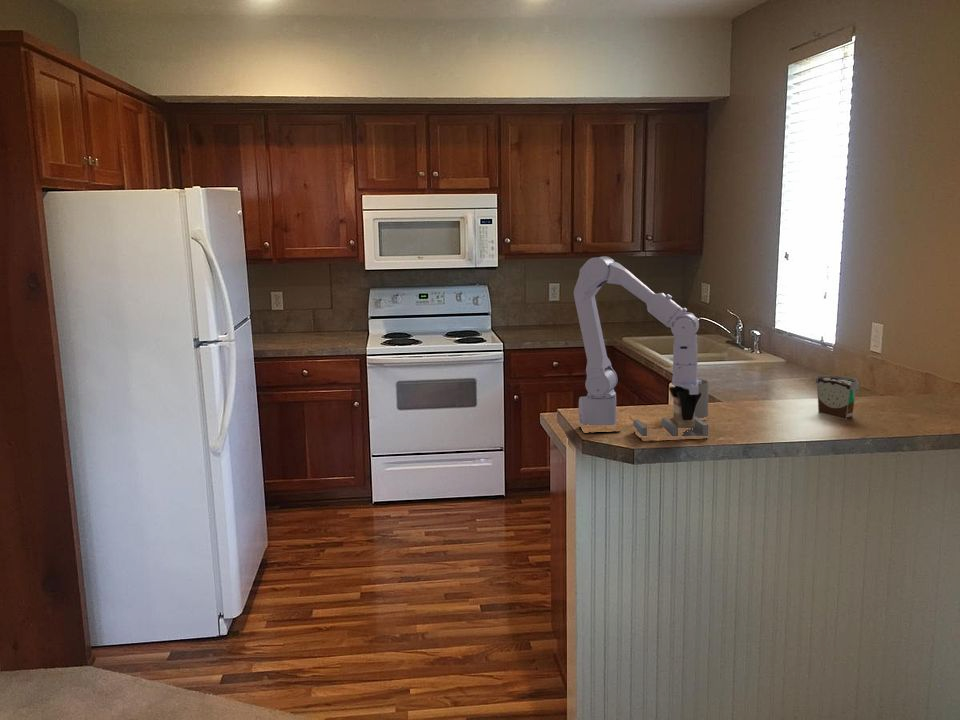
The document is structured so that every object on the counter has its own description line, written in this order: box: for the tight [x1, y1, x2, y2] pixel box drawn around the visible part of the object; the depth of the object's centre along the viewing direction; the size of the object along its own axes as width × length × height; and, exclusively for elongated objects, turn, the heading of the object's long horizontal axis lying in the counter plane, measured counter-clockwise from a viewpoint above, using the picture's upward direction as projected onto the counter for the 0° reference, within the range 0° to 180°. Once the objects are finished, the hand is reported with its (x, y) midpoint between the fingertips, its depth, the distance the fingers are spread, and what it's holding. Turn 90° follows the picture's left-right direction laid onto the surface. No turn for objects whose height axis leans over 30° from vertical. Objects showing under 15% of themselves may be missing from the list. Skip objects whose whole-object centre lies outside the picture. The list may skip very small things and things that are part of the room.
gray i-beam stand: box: [632, 416, 709, 437], centre depth 191 cm, size 16×9×4 cm, turn 93°
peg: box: [672, 396, 695, 428], centre depth 190 cm, size 4×4×7 cm
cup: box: [695, 378, 710, 418], centre depth 208 cm, size 8×8×10 cm
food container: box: [814, 374, 860, 421], centre depth 205 cm, size 12×6×10 cm, turn 22°
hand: (684, 417), depth 191 cm, fingers closed on peg, 4 cm apart
